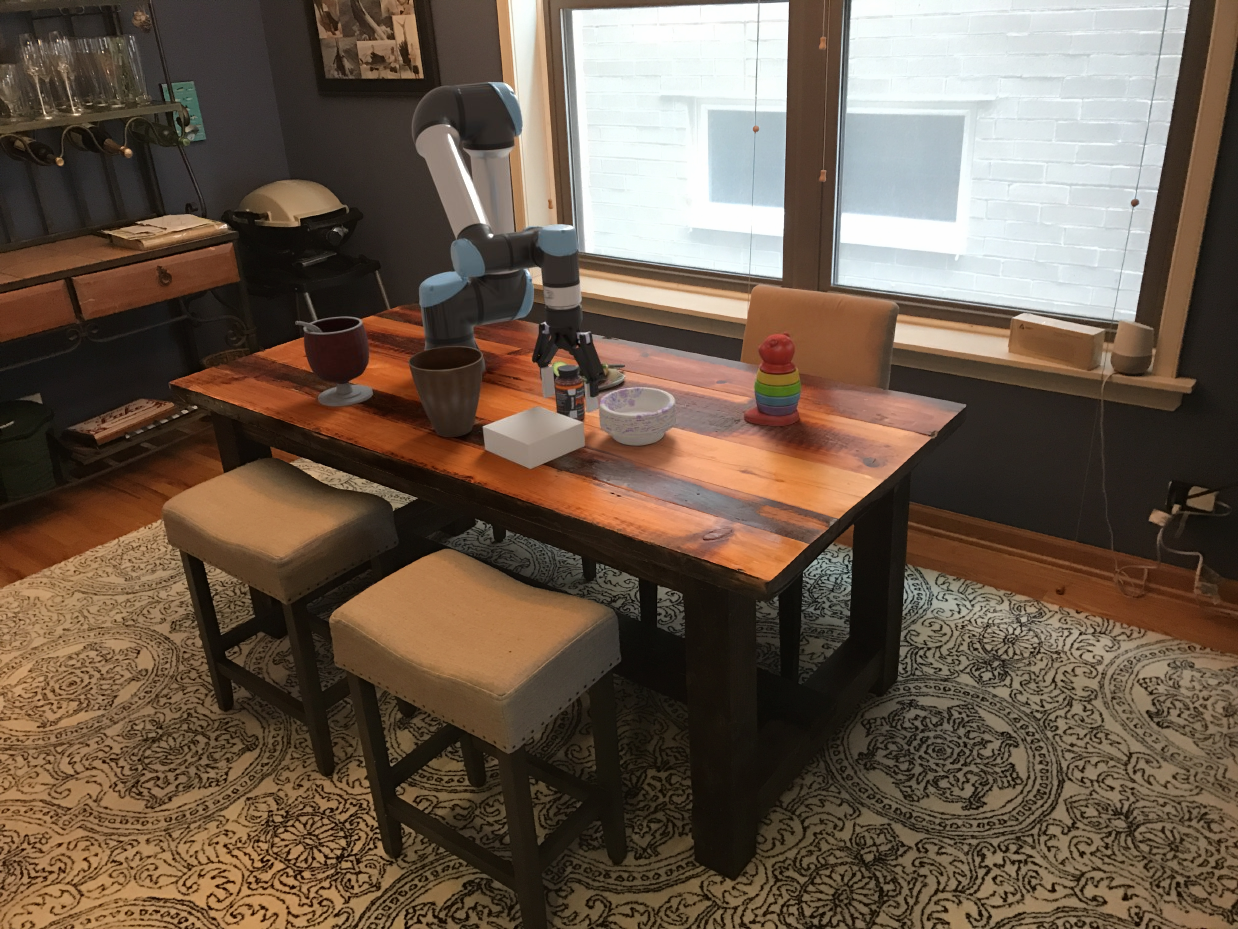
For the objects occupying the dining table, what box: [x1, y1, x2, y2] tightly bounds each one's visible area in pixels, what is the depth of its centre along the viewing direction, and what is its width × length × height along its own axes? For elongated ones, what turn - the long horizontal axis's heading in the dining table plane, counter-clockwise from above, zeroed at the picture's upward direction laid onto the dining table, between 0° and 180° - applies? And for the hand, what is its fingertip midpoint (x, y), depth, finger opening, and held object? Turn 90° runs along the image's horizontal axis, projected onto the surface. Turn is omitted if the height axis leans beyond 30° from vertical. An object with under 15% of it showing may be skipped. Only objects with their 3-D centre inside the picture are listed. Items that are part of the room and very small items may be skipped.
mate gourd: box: [294, 316, 374, 407], centre depth 222 cm, size 16×14×20 cm
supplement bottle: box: [554, 364, 586, 421], centre depth 206 cm, size 6×6×11 cm
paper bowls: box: [598, 386, 677, 447], centre depth 196 cm, size 15×15×8 cm
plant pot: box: [407, 346, 484, 438], centre depth 202 cm, size 15×15×16 cm
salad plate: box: [551, 360, 626, 395], centre depth 229 cm, size 19×18×5 cm
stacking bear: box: [743, 331, 802, 427], centre depth 199 cm, size 11×10×18 cm
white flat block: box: [482, 405, 586, 470], centre depth 194 cm, size 14×14×5 cm
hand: (570, 403), depth 207 cm, fingers open, 13 cm apart
